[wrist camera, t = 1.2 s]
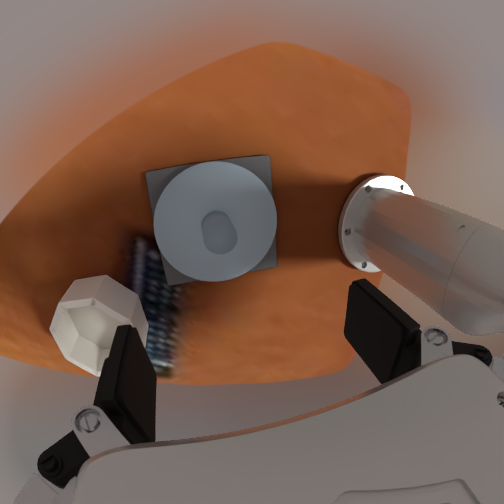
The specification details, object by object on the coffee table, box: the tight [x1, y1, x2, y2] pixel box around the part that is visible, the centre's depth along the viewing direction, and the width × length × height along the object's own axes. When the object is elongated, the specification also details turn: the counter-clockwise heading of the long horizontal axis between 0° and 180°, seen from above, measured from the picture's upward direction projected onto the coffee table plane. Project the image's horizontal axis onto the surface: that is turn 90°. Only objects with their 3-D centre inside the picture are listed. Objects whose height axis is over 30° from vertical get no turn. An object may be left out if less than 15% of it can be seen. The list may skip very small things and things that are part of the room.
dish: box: [49, 275, 149, 376], centre depth 26 cm, size 10×10×5 cm
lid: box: [154, 161, 277, 282], centre depth 24 cm, size 12×12×5 cm
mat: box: [145, 155, 277, 286], centre depth 27 cm, size 12×12×1 cm
